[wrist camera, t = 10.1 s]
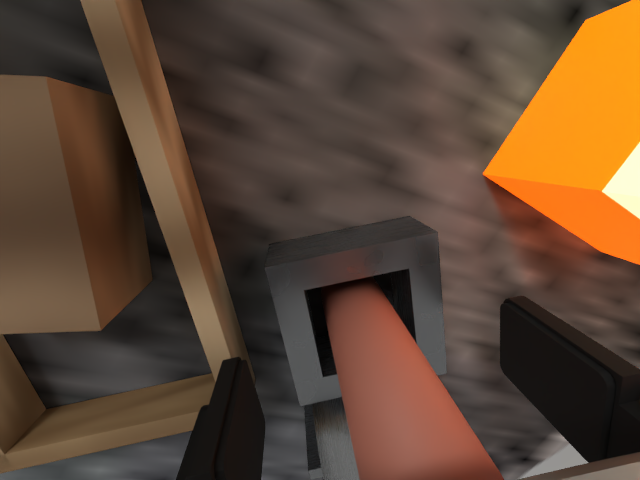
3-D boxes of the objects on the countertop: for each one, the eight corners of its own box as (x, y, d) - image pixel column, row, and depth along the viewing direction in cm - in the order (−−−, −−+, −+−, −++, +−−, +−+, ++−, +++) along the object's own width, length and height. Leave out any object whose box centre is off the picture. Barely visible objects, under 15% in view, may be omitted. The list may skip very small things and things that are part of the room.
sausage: (316, 273, 15) (359, 474, 6) (373, 261, 16) (507, 440, 6) (326, 323, 16) (377, 569, 7) (380, 312, 16) (505, 537, 7)
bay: (-204, 36, 11) (-341, 6, 8) (135, -19, 11) (94, -63, 9) (35, 427, 16) (-7, 475, 14) (255, 379, 17) (250, 417, 15)
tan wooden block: (-61, 94, 12) (-255, 64, 8) (127, 100, 13) (45, 76, 8) (-3, 281, 14) (-127, 338, 10) (154, 277, 15) (100, 330, 11)
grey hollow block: (265, 245, 15) (253, 291, 10) (413, 215, 15) (470, 246, 10) (313, 437, 19) (321, 537, 14) (430, 410, 19) (478, 499, 14)
